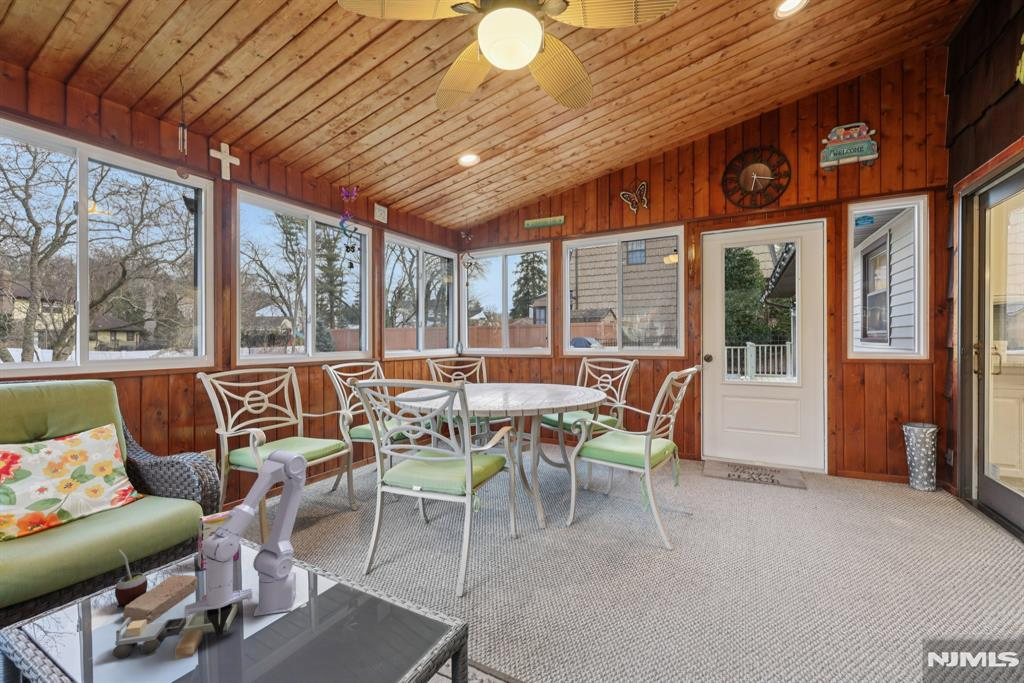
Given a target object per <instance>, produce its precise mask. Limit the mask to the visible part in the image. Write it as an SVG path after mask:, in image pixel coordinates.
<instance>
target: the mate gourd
mask: <svg viewBox="0 0 1024 683" xmlns="http://www.w3.org/2000/svg"><path fill="white" fill-rule="evenodd" d="M118 552H119V553H120V555H121V556H122V557H123V562H124V563H125V567H126V572H127V575H125V576H123V577H121V578H120V579H119V580H118V581H117V583H116V585H115V587H114V597H115V599H116V602H117V609H122V608H125V606H126V605H128V604H129V603H131V602H132V601H134V600H135V599H136V598H138V597H140V596H141V595H143V594H145V593H146V592H148V591H147V589H148V579H147V576H146V575H145V574H144V573H143V572H133V573H131V571H130V566H129V562H128V561H129V560H128V557H127V555H126V554H125V553H124V552H123V550H121V549H118Z"/></svg>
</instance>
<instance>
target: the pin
mask: <svg viewBox="0 0 1024 683" xmlns="http://www.w3.org/2000/svg"><path fill="white" fill-rule="evenodd" d="M205 598H206V594H204V595H203V596H202V597H201V600H202V599H205ZM210 623H211V622H210V620H209V619H208V617H207V610H205V611H204V624H210Z"/></svg>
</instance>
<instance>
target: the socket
mask: <svg viewBox="0 0 1024 683" xmlns="http://www.w3.org/2000/svg"><path fill="white" fill-rule="evenodd" d="M186 624H187V617H179V618H176V617H175V618H169V619H167V620H166V622H165V627H164V628H166V629H167V635H166V637H169V636H175V635H180V634H181V632H183V628H184V627H185V625H186Z"/></svg>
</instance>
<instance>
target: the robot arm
mask: <svg viewBox="0 0 1024 683" xmlns="http://www.w3.org/2000/svg"><path fill="white" fill-rule="evenodd" d="M308 463H309V462H308V460H307V459H306V458H305V456H304V455H303V454H302V453H295V452H291V451H286V450H282V449H275V450H273V451H271V452H270V453H269V454H268V456H267V458H266V460H264V462H263V463H262V466H261V472H260V474H259V475H258V477H257V479H256V480H255V481H254V483H253V485H252V486H251V488H250V490H249V492H248V493H247V494H246V497H245V498H244V500H243V501H242V503H240V504H239V505H236V506H234V507H233V508H232V509H230V510H231V511H230V510H229V511H230V512H229V513H228V517H227V518H226V519H225V521H224V522H223V524H222V525H221V526H220V528H219V529H218V530H217V531H216V533H215V534H214V535H212V536H210V537H209V538H208V539H207V540H206V541H205V543H204V546H203V548H201V552H202V554H203V555H204V556H205V557H206V562H207V566H206V569H205V571H206V572H205V573H206V576H205V578H206V583H205V584H206V587H205V588H206V590H205V595H206V598H205V599H202V598H201V600H198V601H196V602H192V603H189V604H186V605H184V610H183V611H184V617H186V618H189V617H191V615H193V614H194V613H198V612H201V611H205V610H207V617H208V619H209V620H210V622H211V623H212V625H213V627H214V629H215V632H214V633H215V637H216V638H218V637H221V636H223V634H224V631H223V629H224V626H225V623H226V620H227V618H228V616H229V614H230V613H231V610H232V605H233V604H235V603H238V602H242V601H245V600H247V601H250V600H253V588H248V589H242V590H241V589H240V590H234V561H233V556H234V555H235V553H236V552H237V551H238V548H239V549H240V541H241V539H242V536H243V534H244V533H245V531H246V530H247V528H248V526H250V524H251V522H252V521H253V519H254V518H255V509H256V508H257V506H258V505H259V503H261V501H262V499H263V498H264V497H265V496H266V494H267V493H268V492H269V491H270V489H271V488H272V487H273V486H274V484H277V483H280V482H283V488H282V492H281V493H280V494H281V495H280V499H279V501H278V505H277V509H276V513H275V516H274V518H273V523H272V526H271V530H270V534H269V538H268V540H266V541H264V542H263V543H262V544H261V545H260V549H259V551H258V553H257V554H256V555H255V556H254V560H253V562H252V564H253V565H252V567H253V569H254V570H255V571H257V576H258V604H257V606H256V608H255V611H254V612H253V616H254V617H257V616H265V615H273V614H278V613H286V612H291V611H292V609H293V606H294V604H295V601H296V597H297V592H296V591H297V574H296V572H293V571H292V569H293V566H294V558H293V557H294V551H295V550H294V548H293V546H292V544H291V542H290V539H291V535H292V534H293V533H292V532H293V528H294V526H295V525H294V524H295V522H296V518H297V514H298V510H299V507H300V503H301V498H302V495H303V492H304V488H305V485H306V481H307V475H306V474H307V472H306V470H307V466H308ZM291 571H292V572H291ZM219 608H220V625H219ZM184 617H183V618H184Z"/></svg>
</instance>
